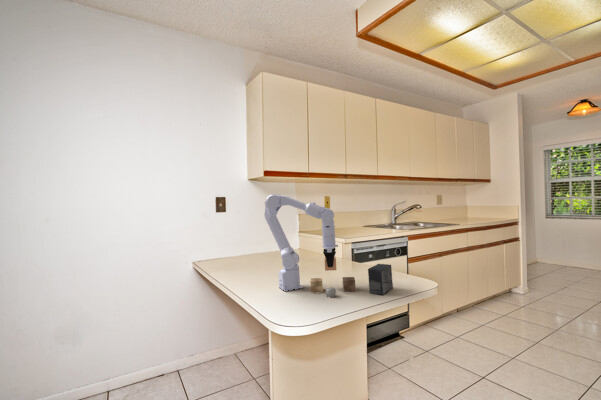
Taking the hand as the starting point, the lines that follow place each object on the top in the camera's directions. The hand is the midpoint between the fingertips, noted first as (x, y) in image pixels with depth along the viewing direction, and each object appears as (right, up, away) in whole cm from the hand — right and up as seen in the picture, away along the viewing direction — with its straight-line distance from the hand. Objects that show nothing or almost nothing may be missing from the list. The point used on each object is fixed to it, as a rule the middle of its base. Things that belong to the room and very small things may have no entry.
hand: (330, 265), depth 133 cm
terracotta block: (0, -2, 0) cm, 2 cm away
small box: (+21, -9, -9) cm, 24 cm away
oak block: (-6, -10, -4) cm, 13 cm away
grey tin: (-1, -10, -12) cm, 15 cm away
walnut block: (+8, -10, -5) cm, 13 cm away
